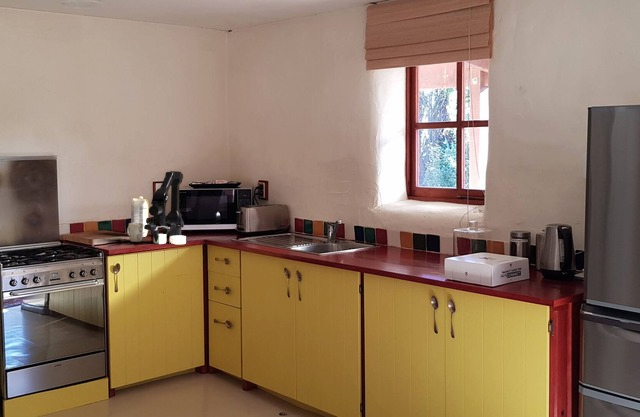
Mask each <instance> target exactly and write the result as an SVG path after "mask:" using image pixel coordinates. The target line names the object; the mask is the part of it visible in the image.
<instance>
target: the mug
mask: <svg viewBox="0 0 640 417" xmlns="http://www.w3.org/2000/svg"><path fill="white" fill-rule="evenodd" d="M143 225H144V224H143V223H131V222H129V223H128V227H127V229H126V233H127V235H128V237H129V236H130V237H129V239H130V242H134V243H135V242H136V243H139V242H140V243H141V242H142V239H143V237H142V232H143Z"/></svg>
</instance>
